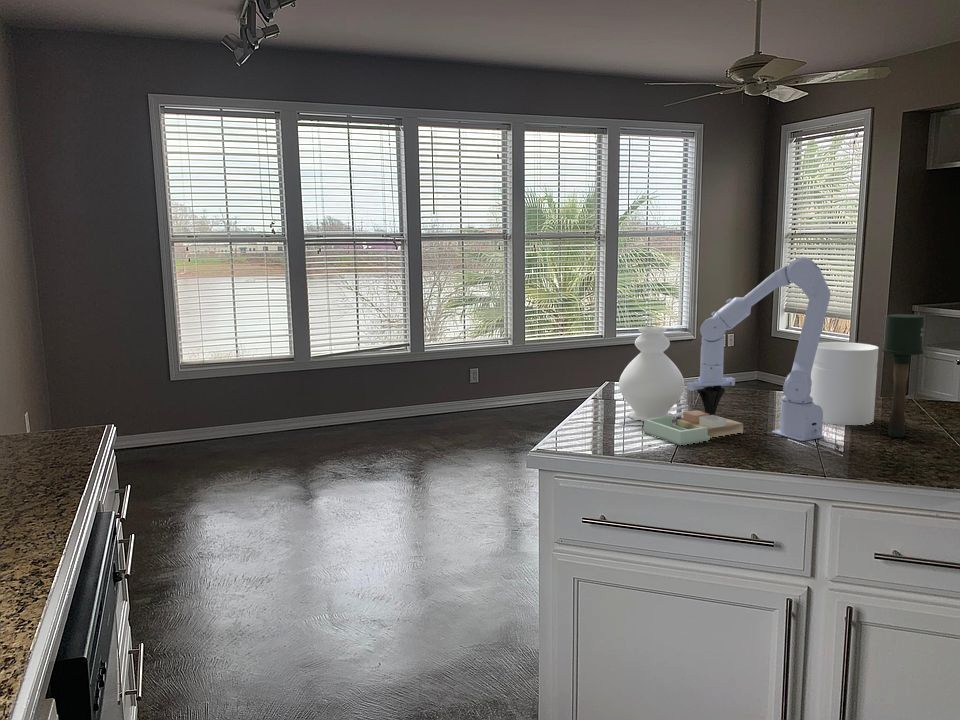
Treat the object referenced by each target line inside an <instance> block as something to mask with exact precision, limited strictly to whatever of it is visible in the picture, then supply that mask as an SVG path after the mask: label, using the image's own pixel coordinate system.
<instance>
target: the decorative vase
mask: <svg viewBox="0 0 960 720" xmlns="http://www.w3.org/2000/svg"><path fill="white" fill-rule="evenodd" d="M667 330H668V328H667V327H664V326H640V327H639V328H638V332H639V333H641V334H640V335H639V336H637V338H635V340H634V346H635V347H636V349H638V351H640V352H639V353H638V354H637V355H636V356H635V357H634V358H633V359H632V360H631V361H629V363H628V364H627V366H626V367H625V368H624V370H623V371H622V373H621V375H620V377H619V381H618V388H619V393H620V394H621V396H622V398H623V399H624V400H625V402H626V403H627V404H628V405H629V406H630V407H631V409H632V411H630V412H628V413H627V417H628V416H629V417H630V418H629V417H628V418H629V419H631V418H633V419H637V420H641V421H640V422H643V421H644V420H645V419H652V418H658V417H665V416H672V420H674V418H675V415H674V414H673V413H672V412H670V410H671V409H672V408H673V407H674V406H675V405H676V403H677V402H678V401H679V400H680V399H681V397H682V396H683V394H684V392H685V379H684V377H683V375H682V373H681V371H680V369H679V368H678V367H677V365H676V364H675V363H674V361H672V360H671V358H670V357H668V356H667V354H666V353H664V352H665V351H666V350H668V348H669V347H670V345H671V341H670V340H669V338H668V337H667V336H666V335H665V334H664V333H666V332H667ZM633 419H632V420H633ZM637 420H636V421H637Z"/></svg>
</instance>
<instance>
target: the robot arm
mask: <svg viewBox="0 0 960 720" xmlns="http://www.w3.org/2000/svg"><path fill="white" fill-rule="evenodd" d="M822 272H823V271H822V269H821V268H820V267H819V266H818V265H817V264H816V262H814V261H813V260H812V259H811V258H808V257H802V256H801V257H797V258H795V259H793V260H792V261H791V262H790V263H789V264H786V265H784V266H782V267H781V268H779V269H777V270H776V271H773V272H772V273H771V274H770V275H769V276H767V277H766V278H765V279H764V280H763V281H761V282H760V283H759V284H758V285H757V286H756V287H754V288H753V289H752V290H750V291H749V292H748V293H747V294H746V295H744V296H743V297H739V296H735V297H734V298H728V299H727V300H726V301H725V303H726V304H725V305H723V306H722V307H721V308H719V309H718V310H717V311H715V310H714V311H713V312H711V316H712V317H709V318H706V319H705V320H704V321H703V322H702V323H701V325H700V328H699V332H700V335H701V346H700V365H699V367H700V368H699V377H698V379H695V380H693V381H688V382H686V390H687V391H691V392H692V391H694V392H695V391H697V393H698V395H699V396H700V398H701V402H702V405H703V407H704V412H705V413H708V414H709V415H715V416H716V412H717V409H718V405H719V402H720V401H721V399H722V397H723V395H724V394H725V392H726V389H725V388H723V387H727V386H731V387H733V386H735V384H736V378H734V377H730V376H729V377H724V359H725V358H724V357H725V356H724V355H725V345H724V336H725V334H726V332H727V331H731V330H732V329H733V328H735V327H736V326H737V325H738V324H740V323H741V322H743V320H745V319H746V318H747V317H749V316H750V315H751V309H752V307H753V306H754V305H756V304H757V303H758V302H760V301H761V300H762V299H764V298H765V297H766V296H768V295H769V294H770V293H772V292H773V291H774V290H776V289H778V288H781V287H787V286H790V284H791V283H792V284H794V285H795V286H797V287H798V288H800V289H801V291H802V292H803V293H804V294H805V296H806V297H807V299H808V302H807V307H806V311H805V316H804V319H803V324H802V327H801V332H800V334H799V340H798V344H797V347H796V351H795V355H794V360H793V363H792V368H791V371H790V372H789V373H788V374H787V375H786V376H785V380H784V384H783V387H782V391H783V396H781V397H780V399H781V402H780V419H779V420H780V421H779V429H776V430H771V433H773V434H775V435H779V436H782V437H786V438H789V439H792V440H796V441H800V442H805V441H806V442H807V441H811V440H816V439H821V438H824V437H825V435H824V434H823V424H824V423H823V411H822V408H821V407H820V406H819V405H816V404H814V402H813V398H812V397H811V396H810V393H811V386H812V380H811V371H812V367H813V363H814V359H815V355H816V351H817V347H818V343H820V338H821V334H822V331H823V327H824V323H825V319H826V315H827V311H828V308H829V304H830V303H829V302H830V300H831V290H830V288H829V287H828V284H827V281H826V280H825V277H824V275H823V273H822Z"/></svg>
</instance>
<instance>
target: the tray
mask: <svg viewBox="0 0 960 720" xmlns="http://www.w3.org/2000/svg"><path fill="white" fill-rule="evenodd" d="M672 421H673V419H672V416H665V417H658V418H652V419H645V420H644V422H643V433H644V432H645V433H644V434H646V433H648V434H651V435H653V436H652V437H654V436H656V437H655V438H657V437H659V438H658V439H660V438H661V439H660V440H662V439H664V440H663V441H665V440H667V441H666V442H668V441H669V442H668V443H671V442H672V443H671V444H673V443H675V444H674V445H676V444H677V445H676V446H679V445H680V446H679V447H682V446H681V445H683V446H687V444H689V445H694V444H693V443H695V444H700V443H704V442H703V441H706V442H709V441H708V440H711V439H710V436H708V435H707V433H708V427H701V428H695V429H686V428H683V427H680V426H677V424H673V422H672ZM648 434H647V435H648ZM651 435H650V436H651ZM699 442H700V443H699Z"/></svg>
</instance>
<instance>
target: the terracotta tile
mask: <svg viewBox="0 0 960 720" xmlns="http://www.w3.org/2000/svg"><path fill="white" fill-rule="evenodd" d="M682 414H683V415H682V419H683V420H686V421H689V422H693V423H699V417H702V416H708V415H709V414H708V413H705V411H701V410H697V409H695V410H689V411H683V413H682Z"/></svg>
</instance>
